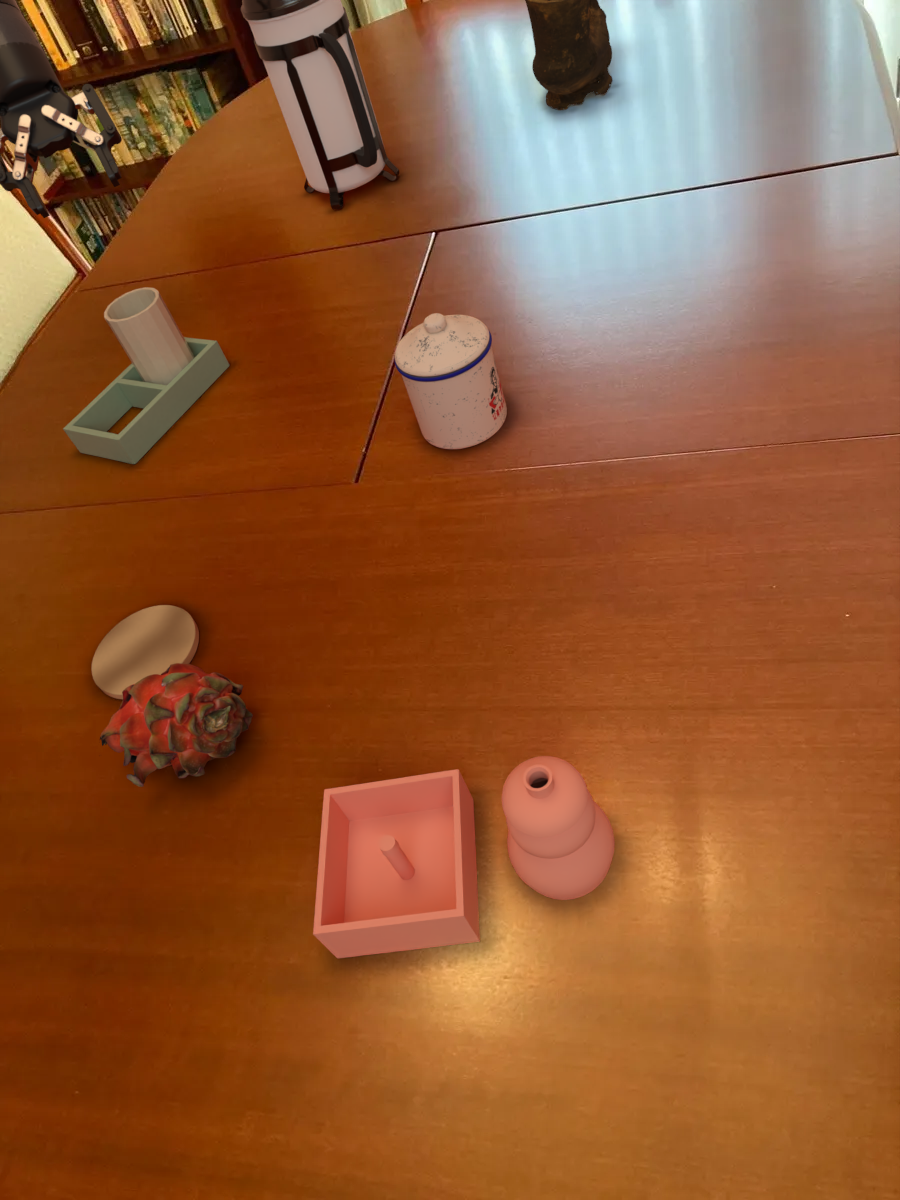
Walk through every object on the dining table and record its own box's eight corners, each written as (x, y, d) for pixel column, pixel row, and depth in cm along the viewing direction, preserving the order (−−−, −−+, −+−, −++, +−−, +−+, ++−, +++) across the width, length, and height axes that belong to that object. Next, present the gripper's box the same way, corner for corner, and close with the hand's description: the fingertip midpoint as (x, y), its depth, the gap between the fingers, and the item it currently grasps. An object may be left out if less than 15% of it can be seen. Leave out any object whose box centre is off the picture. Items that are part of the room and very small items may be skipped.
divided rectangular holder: (80, 452, 100) (62, 428, 98) (175, 358, 109) (161, 334, 106) (135, 464, 96) (118, 440, 93) (230, 365, 104) (216, 340, 102)
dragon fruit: (286, 754, 68) (156, 785, 71) (262, 646, 69) (136, 682, 72) (225, 770, 59) (82, 804, 63) (199, 647, 60) (60, 688, 64)
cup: (143, 399, 104) (92, 319, 96) (176, 366, 107) (130, 285, 99) (181, 406, 101) (132, 323, 93) (214, 371, 104) (169, 288, 96)
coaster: (74, 682, 76) (69, 677, 76) (144, 600, 81) (140, 594, 80) (150, 713, 72) (146, 708, 71) (220, 624, 76) (216, 618, 76)
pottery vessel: (547, 66, 139) (524, -85, 125) (616, 51, 136) (601, -106, 122) (534, 137, 124) (506, -27, 109) (612, 121, 121) (593, -49, 106)
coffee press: (285, 219, 127) (188, -20, 105) (328, 165, 136) (247, -67, 114) (392, 210, 120) (314, -48, 98) (430, 153, 129) (366, -95, 107)
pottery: (337, 958, 55) (275, 897, 47) (345, 818, 61) (291, 745, 54) (628, 924, 52) (610, 852, 44) (605, 780, 58) (586, 697, 51)
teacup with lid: (520, 433, 83) (494, 327, 74) (428, 464, 83) (392, 361, 75) (491, 366, 91) (465, 263, 82) (408, 395, 91) (373, 295, 83)
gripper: (-65, 70, 93) (7, 210, 94) (60, 17, 94) (130, 155, 95) (-33, 109, 101) (33, 238, 101) (82, 59, 102) (147, 188, 102)
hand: (80, 198), depth 98 cm, fingers open, 8 cm apart
